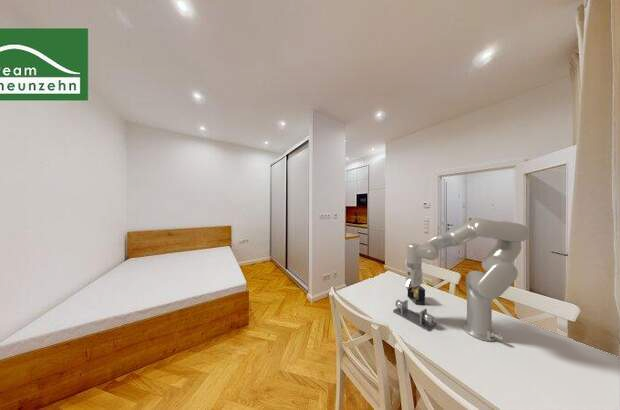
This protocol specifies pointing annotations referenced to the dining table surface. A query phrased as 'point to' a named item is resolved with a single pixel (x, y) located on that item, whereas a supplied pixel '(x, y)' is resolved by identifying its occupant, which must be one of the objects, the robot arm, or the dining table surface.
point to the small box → (420, 297)
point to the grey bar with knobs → (415, 315)
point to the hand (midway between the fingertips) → (413, 295)
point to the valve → (415, 293)
